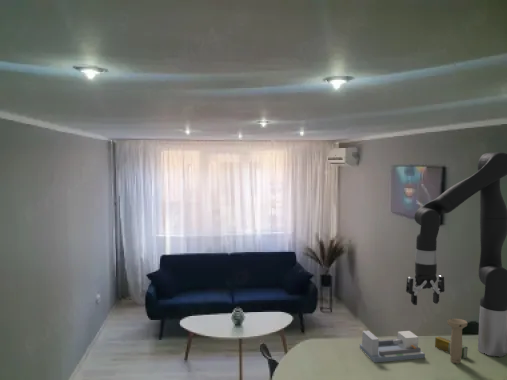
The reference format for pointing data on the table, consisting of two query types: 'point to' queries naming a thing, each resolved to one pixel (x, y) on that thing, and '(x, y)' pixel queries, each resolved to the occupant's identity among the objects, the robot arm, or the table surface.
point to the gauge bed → (387, 349)
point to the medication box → (448, 346)
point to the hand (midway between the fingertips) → (424, 303)
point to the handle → (456, 339)
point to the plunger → (406, 340)
